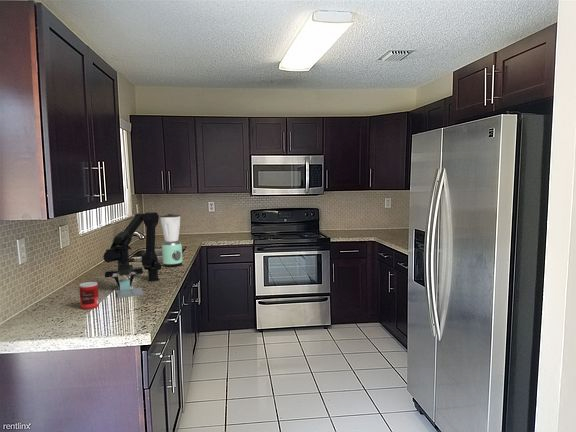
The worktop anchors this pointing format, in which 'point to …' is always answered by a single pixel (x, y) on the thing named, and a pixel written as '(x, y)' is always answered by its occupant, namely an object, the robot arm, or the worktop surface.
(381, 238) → the worktop surface
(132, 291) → the pad
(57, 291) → the worktop surface
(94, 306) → the canned food
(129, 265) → the robot arm
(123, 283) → the block
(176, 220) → the blender
